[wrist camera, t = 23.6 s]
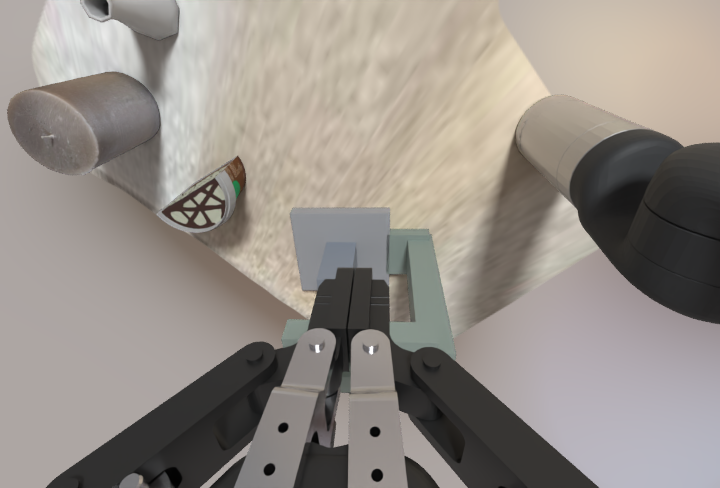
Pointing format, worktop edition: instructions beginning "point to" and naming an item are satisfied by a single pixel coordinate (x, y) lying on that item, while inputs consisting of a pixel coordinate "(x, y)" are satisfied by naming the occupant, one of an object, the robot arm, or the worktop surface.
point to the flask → (137, 15)
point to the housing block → (336, 259)
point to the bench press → (376, 270)
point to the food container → (207, 200)
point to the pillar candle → (83, 121)
